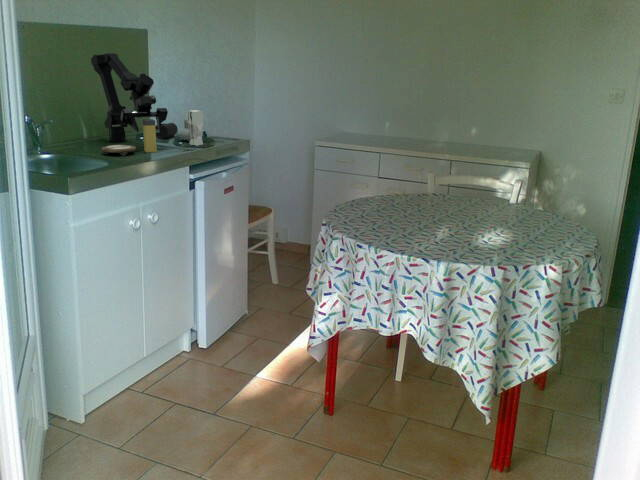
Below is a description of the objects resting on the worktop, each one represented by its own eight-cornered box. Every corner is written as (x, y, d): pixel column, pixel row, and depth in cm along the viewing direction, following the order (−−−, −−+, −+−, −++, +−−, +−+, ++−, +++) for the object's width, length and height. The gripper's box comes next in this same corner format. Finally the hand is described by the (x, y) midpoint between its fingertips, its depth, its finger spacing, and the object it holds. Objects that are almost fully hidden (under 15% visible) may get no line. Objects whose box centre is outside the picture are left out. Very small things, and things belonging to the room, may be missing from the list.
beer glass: (189, 143, 288) (187, 109, 284) (204, 143, 289) (203, 110, 284) (187, 146, 282) (185, 111, 277) (203, 146, 282) (202, 111, 278)
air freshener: (188, 143, 290) (187, 120, 287) (176, 141, 295) (175, 119, 292) (206, 140, 298) (205, 118, 295) (194, 138, 303) (193, 117, 300)
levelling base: (95, 154, 257) (94, 147, 256) (117, 150, 268) (117, 143, 267) (120, 157, 252) (120, 150, 251) (142, 152, 263) (142, 146, 262)
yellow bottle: (144, 151, 267) (142, 119, 264) (154, 150, 269) (152, 119, 266) (147, 152, 264) (145, 120, 260) (156, 151, 266) (154, 120, 262)
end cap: (168, 140, 298) (167, 125, 296) (154, 139, 300) (153, 124, 298) (178, 137, 307) (177, 122, 305) (164, 136, 309) (164, 122, 307)
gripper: (120, 89, 259) (129, 119, 254) (165, 88, 269) (175, 117, 263) (116, 107, 268) (125, 136, 262) (160, 105, 277) (170, 134, 272)
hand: (149, 131), depth 265 cm, fingers open, 9 cm apart
